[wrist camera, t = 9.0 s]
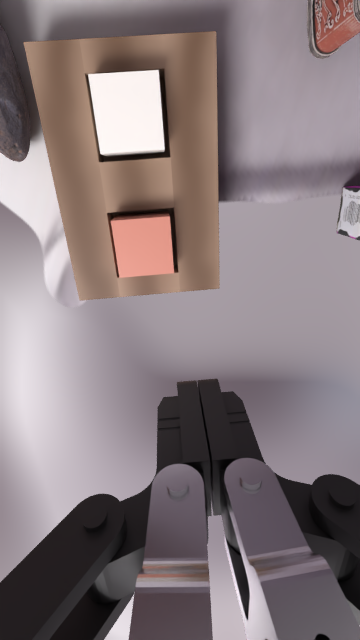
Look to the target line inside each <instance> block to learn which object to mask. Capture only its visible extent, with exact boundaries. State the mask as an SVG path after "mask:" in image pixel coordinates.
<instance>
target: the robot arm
mask: <svg viewBox="0 0 360 640" xmlns="http://www.w3.org/2000/svg"><path fill="white" fill-rule="evenodd" d="M177 388H178V396H174V397H164V398H163V399H162V401H161V403H160V405H159V406H158V425H157V428H158V431H157V471H156V475H155V477H154V479H153V481H152V482H151V484H150V485H149V486H148V487H147V488H146V489H145V490H143V491H142V492H140V493H139V494H137V495H135V496H133V497H130V498H127V499H125V500H123V501H119V500H118V499H117V498H115V497H114V496H112V495H109V494H97V495H93V496H90V497H88V498H87V499H85V500H83V501H82V502H80V503H79V504H78V505H77V506H76V507H75V508H74V509H73V510H72V511H71V512H70V513H69V514H68V515H67V516H66V517H65V518H64V519H63V520H62V521H61V522H60V523H59V524H58V525H57V526H56V527H55V528H54V529H53V530H52V531H51V532H50V533H49V534H48V535H47V536H46V537H45V538H44V539H43V540H42V541H41V542H40V543H39V544H38V545H37V546H36V547H35V548H34V549H33V550H32V551H31V552H30V553H29V554H28V555H27V556H26V557H25V558H24V559H23V560H22V561H21V562H20V563H19V564H18V565H17V566H16V568H14V569H13V570H12V571H11V572H10V573H9V575H7V576H6V577H5V578H4V579H3V580H2V581H1V582H0V640H104V639H105V637H106V636H107V634H108V633H109V631H110V630H111V628H112V627H113V625H114V623H115V622H116V621H117V619H118V618H119V616H120V615H121V613H122V612H123V610H124V609H125V607H126V606H127V604H128V603H129V601H130V600H131V598H132V596H133V594H134V601H133V609H132V617H131V626H130V634H129V640H213V636H212V619H211V601H210V582H209V569H208V550H207V544H208V516H211V502H212V508H213V515H222V520H223V526H224V543H225V548H226V552H227V556H228V560H229V564H230V568H231V573H232V577H233V581H234V585H235V589H236V593H237V598H238V601H239V606H240V610H241V614H242V618H243V622H244V628H245V633H246V640H360V626H359V625H360V485H358V484H356V483H355V482H353V481H352V480H350V479H348V478H346V477H343V476H339V475H333V474H332V475H331V474H328V475H323V476H320V477H318V478H317V479H316V480H315V481H314V482H313V484H312V485H310V484H305V483H300V482H295V481H291V480H288V479H285V478H283V477H281V476H279V475H277V474H276V473H274V472H273V471H272V469H271V468H270V467H269V466H268V465H266V463H265V462H264V460H263V457H262V455H261V452H260V449H259V446H258V444H257V441H256V438H255V435H254V432H253V430H252V427H251V424H250V422H249V418H248V416H247V414H246V410H245V407H244V404H243V401H242V400H241V399H240V398H239V397H238V396H237V395H236V394H235V393H234V392H221V390H220V386H219V382H218V379H208V380H198V387H197V382H196V381H184V382H177ZM134 592H135V593H134Z"/></svg>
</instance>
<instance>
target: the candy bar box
mask: <svg viewBox="0 0 360 640" xmlns="http://www.w3.org/2000/svg"><path fill="white" fill-rule="evenodd" d="M337 233H339V234H342V235H345V236H348V237H351V238H354V239H357V240H360V186H348V187H343V189H342V196H341V204H340V211H339V218H338V222H337Z"/></svg>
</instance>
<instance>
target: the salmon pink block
mask: <svg viewBox="0 0 360 640" xmlns="http://www.w3.org/2000/svg"><path fill="white" fill-rule="evenodd" d="M111 226H112V232H113V239H114V245H115V252H116V258H117V265H118V271H119V278H123V277H135V276H147V275H159V274H171V273H174V265H173V252H172V239H171V226H170V215H169V212H168V211H166V212H153V213H140V214H127V215H116V216H115V217H114V218H113V219H112V220H111Z"/></svg>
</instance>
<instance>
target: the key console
mask: <svg viewBox="0 0 360 640" xmlns="http://www.w3.org/2000/svg"><path fill="white" fill-rule="evenodd" d="M23 43H24V47H25V52H26V57H27V61H28V66H29V70H30V75H31V80H32V84H33V89H34V93H35V98H36V102H37V107H38V112H39V116H40V121H41V125H42V130H43V135H44V139H45V144H46V148H47V153H48V157H49V162H50V167H51V171H52V176H53V180H54V185H55V190H56V194H57V199H58V203H59V208H60V213H61V217H62V222H63V226H64V231H65V235H66V240H67V245H68V249H69V254H70V258H71V263H72V268H73V272H74V277H75V281H76V286H77V290H78V295H79V300H91V299H101V298H102V299H103V298H113V297H125V296H137V295H149V294H161V293H171V292H183V291H194V290H207V289H217V288H219V211H218V209H219V208H218V128H217V47H216V31H211V32H193V33H175V34H158V35H140V36H123V37H105V38H87V39H70V40H52V41H35V42H23ZM149 70H159V81H160V94H161V108H162V121H163V134H164V147H165V150H164V153H153V154H139V155H125V156H110V157H107V156H104V155H102V154H100V148H99V142H98V135H97V129H96V122H95V116H94V109H93V103H92V96H91V90H90V83H89V77H88V74H100V73H116V72H133V71H149ZM166 211H168V212H169V215H170V226H171V239H172V252H173V265H174V273H171V274H159V275H147V276H135V277H123V278H119V271H118V265H117V258H116V252H115V245H114V239H113V232H112V226H111V220H112V219H113V218H114V217H115V216H116V215H127V214H140V213H153V212H166Z"/></svg>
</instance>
